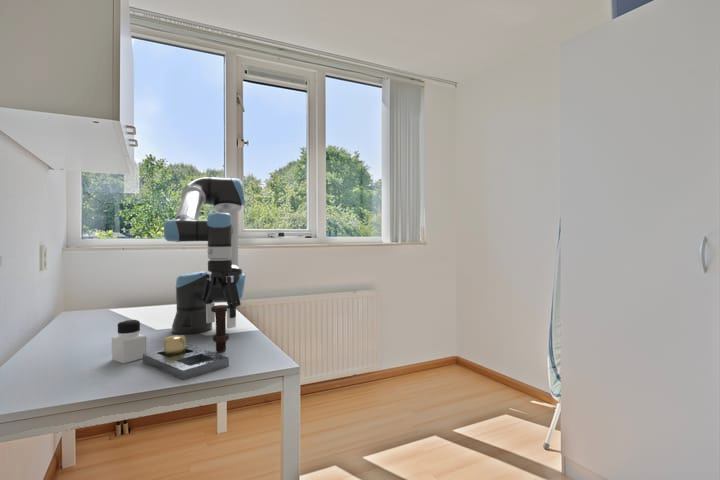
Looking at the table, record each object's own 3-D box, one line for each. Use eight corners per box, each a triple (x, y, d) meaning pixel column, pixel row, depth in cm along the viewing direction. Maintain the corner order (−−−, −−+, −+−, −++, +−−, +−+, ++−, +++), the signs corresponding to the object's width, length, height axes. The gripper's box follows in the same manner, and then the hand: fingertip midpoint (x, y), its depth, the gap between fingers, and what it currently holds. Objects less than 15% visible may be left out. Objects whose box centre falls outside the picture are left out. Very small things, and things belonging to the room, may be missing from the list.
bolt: (223, 354, 129) (222, 308, 129) (209, 353, 130) (208, 307, 130) (232, 349, 135) (231, 304, 134) (218, 348, 136) (218, 304, 135)
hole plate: (142, 362, 121) (142, 339, 121) (186, 351, 132) (186, 330, 132) (183, 379, 106) (182, 353, 106) (228, 365, 117) (228, 342, 117)
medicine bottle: (146, 357, 126) (146, 320, 126) (123, 364, 120) (122, 324, 120) (135, 354, 130) (134, 317, 130) (111, 360, 124) (111, 321, 124)
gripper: (190, 258, 136) (191, 322, 136) (231, 261, 121) (231, 332, 122) (210, 257, 142) (211, 318, 142) (251, 260, 127) (252, 327, 128)
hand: (220, 325), depth 132 cm, fingers open, 11 cm apart
